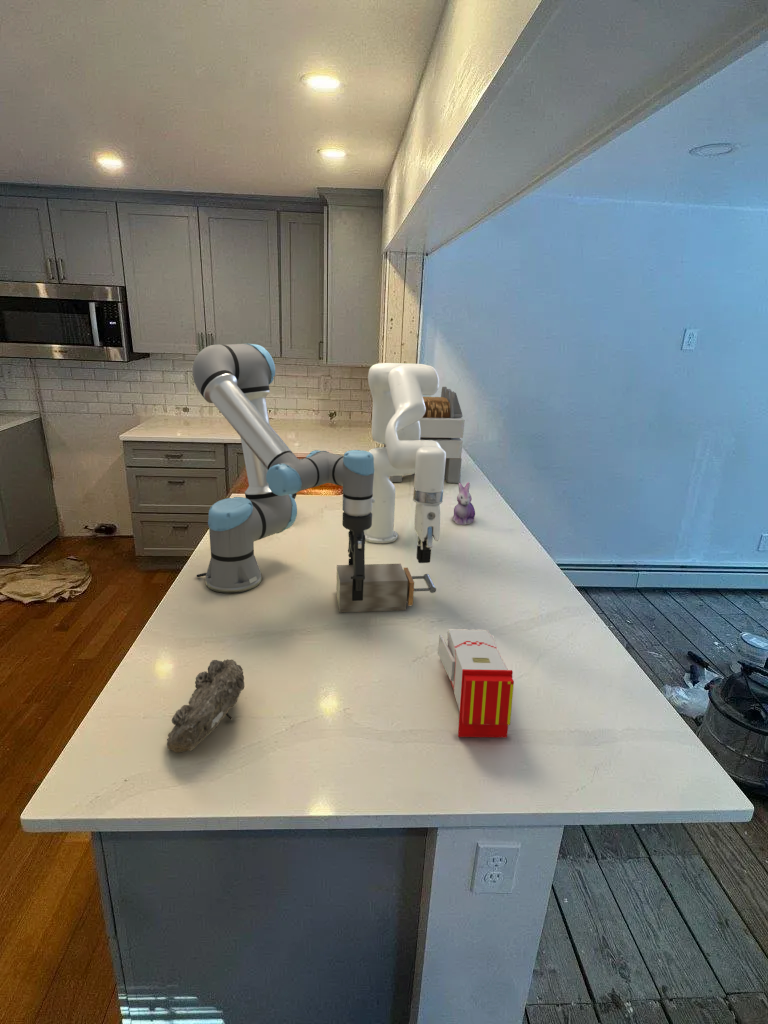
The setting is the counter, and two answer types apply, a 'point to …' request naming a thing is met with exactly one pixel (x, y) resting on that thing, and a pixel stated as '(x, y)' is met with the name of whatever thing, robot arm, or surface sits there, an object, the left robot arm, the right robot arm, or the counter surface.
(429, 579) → the drawer
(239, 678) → the fossil
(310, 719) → the counter surface
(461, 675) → the toy
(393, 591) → the grey boxy block
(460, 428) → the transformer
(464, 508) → the figurine
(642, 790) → the counter surface
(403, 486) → the counter surface
